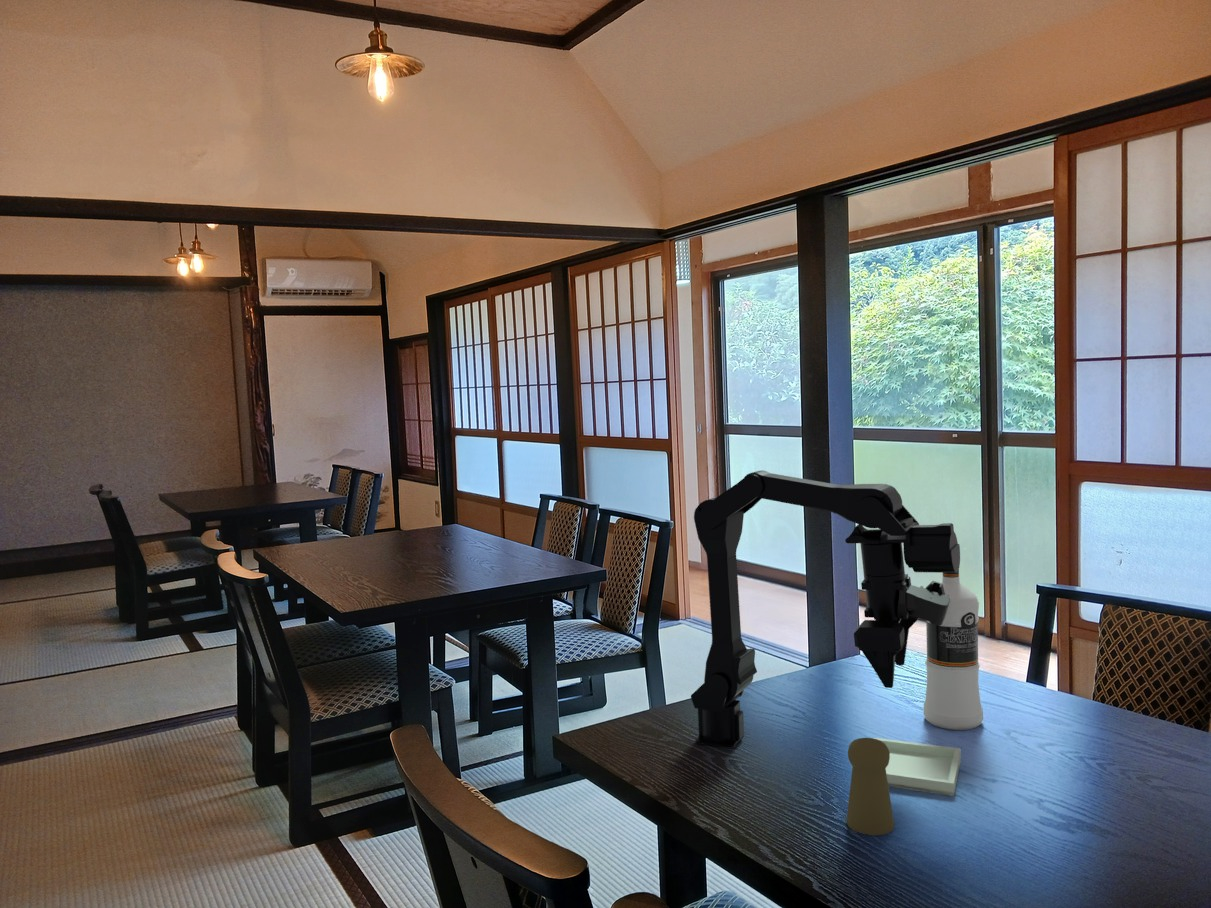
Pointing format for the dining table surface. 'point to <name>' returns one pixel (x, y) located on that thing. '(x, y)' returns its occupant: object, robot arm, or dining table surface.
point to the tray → (922, 767)
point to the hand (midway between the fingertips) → (894, 675)
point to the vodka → (954, 662)
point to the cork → (869, 788)
